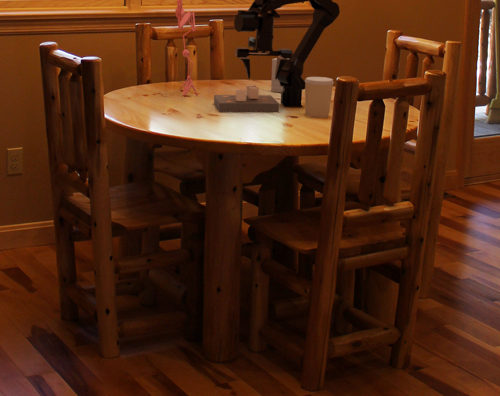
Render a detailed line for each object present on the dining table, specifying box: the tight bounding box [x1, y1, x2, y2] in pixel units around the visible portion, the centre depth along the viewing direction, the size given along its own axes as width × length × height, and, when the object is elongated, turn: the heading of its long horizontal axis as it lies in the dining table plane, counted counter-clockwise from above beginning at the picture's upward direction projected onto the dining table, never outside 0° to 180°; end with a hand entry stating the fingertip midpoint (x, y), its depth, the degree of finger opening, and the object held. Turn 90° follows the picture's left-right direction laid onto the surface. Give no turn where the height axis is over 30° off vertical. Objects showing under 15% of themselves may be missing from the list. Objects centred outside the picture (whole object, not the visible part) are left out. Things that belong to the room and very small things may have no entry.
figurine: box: [160, 0, 199, 98], centre depth 256 cm, size 15×26×35 cm, turn 8°
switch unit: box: [213, 94, 280, 113], centre depth 240 cm, size 20×15×3 cm
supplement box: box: [270, 57, 283, 94], centre depth 272 cm, size 7×7×13 cm
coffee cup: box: [304, 76, 335, 119], centre depth 231 cm, size 9×9×12 cm
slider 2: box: [245, 84, 257, 96], centre depth 243 cm, size 3×2×4 cm
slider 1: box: [235, 88, 246, 101], centre depth 234 cm, size 3×2×4 cm
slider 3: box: [248, 86, 260, 99], centre depth 239 cm, size 3×2×4 cm
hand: (262, 78), depth 238 cm, fingers open, 9 cm apart
